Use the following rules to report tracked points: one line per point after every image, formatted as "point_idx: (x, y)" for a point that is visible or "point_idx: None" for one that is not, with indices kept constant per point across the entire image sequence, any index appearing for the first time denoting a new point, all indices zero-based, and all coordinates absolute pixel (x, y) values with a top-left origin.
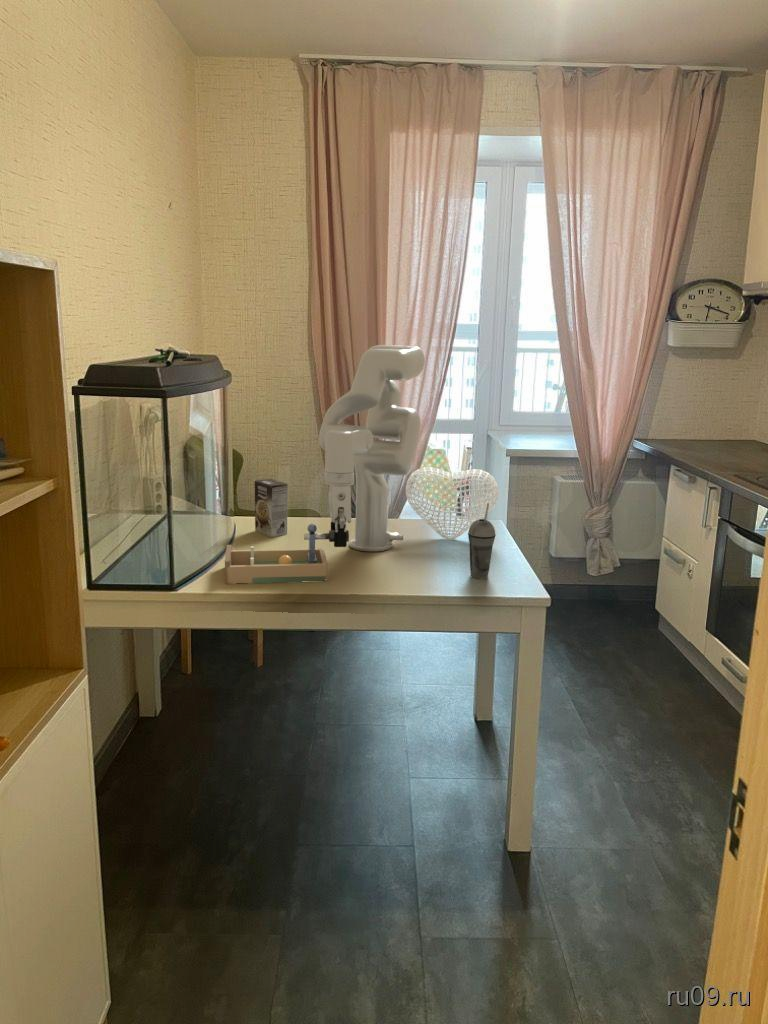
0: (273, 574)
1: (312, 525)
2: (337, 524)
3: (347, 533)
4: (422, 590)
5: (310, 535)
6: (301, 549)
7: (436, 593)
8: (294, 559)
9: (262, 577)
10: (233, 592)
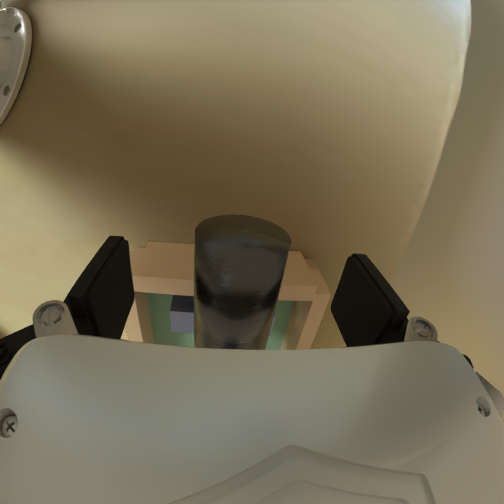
0: None
1: None
2: (105, 324)
3: (281, 261)
4: (443, 22)
5: None
6: (135, 340)
7: (460, 11)
8: (151, 334)
9: None
10: None
